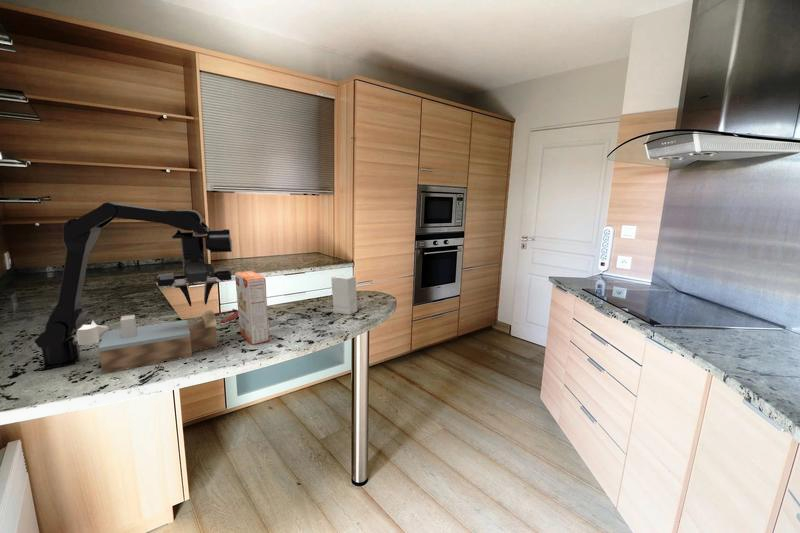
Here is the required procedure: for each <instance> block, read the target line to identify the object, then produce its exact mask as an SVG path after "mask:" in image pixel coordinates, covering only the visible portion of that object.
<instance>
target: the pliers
mask: <svg viewBox="0 0 800 533" xmlns="http://www.w3.org/2000/svg"><path fill="white" fill-rule="evenodd" d="M231 312H235V313H234V314H233V315H232V316H227V317H225V318H223V319H221V320H220V321H219V322H220V323H225V322H228V321H231V320H234V319H235V318H236V317H238V308H236V309H235V308H232V309H231V310H227V311H226V310H225V311H220V312H219V311H218V312H213V313H214V315H219V314H224V315H226V314H225V313H231Z"/></svg>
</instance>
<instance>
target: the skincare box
mask: <svg viewBox="0 0 800 533" xmlns="http://www.w3.org/2000/svg"><path fill="white" fill-rule="evenodd" d="M330 280H331V293H332V294H331V296H332V305H333V306H332V307H333V308H332V309H333V310H332V311H333V313H334V314H335V313H336V314H341V315H342V314H343V315H353V314H355V313H356V312H358V298H357V296H358V295H357V283H356V281H357V280H356V275H344V274H337V275H334V276H332V277H331V279H330Z"/></svg>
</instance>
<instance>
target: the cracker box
mask: <svg viewBox="0 0 800 533" xmlns="http://www.w3.org/2000/svg"><path fill="white" fill-rule="evenodd" d="M234 278H235V290H236V302H237V310H238V316H239V318H238V326H239V328H238V329H239V333H240V332H241V333H240V334H241V335H242V336H243V337H244V338H245V340H247V342H248V343H249V344H250V345H252V346H253V345H259V344H262V343H265V342H270V331H269V317H268V316H269V315H268V301H267V300H268V299H267V286H266V285H267V283H266V277H264V276H262V275H260V274H259V273H257V272H255V271H253V270H248V271H247V270H246V271H238V272H235V273H234Z"/></svg>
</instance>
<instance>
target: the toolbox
mask: <svg viewBox="0 0 800 533" xmlns="http://www.w3.org/2000/svg"><path fill="white" fill-rule="evenodd" d="M188 327H189V331H190V337H185V338H179V339H173V340H167V341H161V342H154V343H148V344H142V345H136V346H130V347H124V348H118V349H112V350H106V351H100V352H99V351H98V354H99V361H100V362H99V363H100V368H101V374H102V375H103V373H104V374H108V373H107V372H109V373H113V372H112V371H115V372H118V371H117V370H120V371H123V369H125V370H128V369H127V368H130V369H133V368H132V367H136V368H138V367H137V366H141V367H144V366H143V365H146V366H150V365H149V364H151V365H155V364H154V363H157V364H160V363H159V362H162V363H165V362H164V361H167V362H170V361H169V360H172V361H174V360H173V359H177V360H180V359H179V358H183V359H186V358H185V357H188V358H191V357H190V356H192V357H193V352H196V351H195V350H199V351H201V350H200V349H204V350H207V349H206V348H209V349H212V348H211V347H215V348H218V347H217V346H218V338H217V336H218V335H217V326H215V327H208V328H205V326H204V323H203V321H202V320H201V321H194V322H188ZM192 351H193V352H192Z"/></svg>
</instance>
